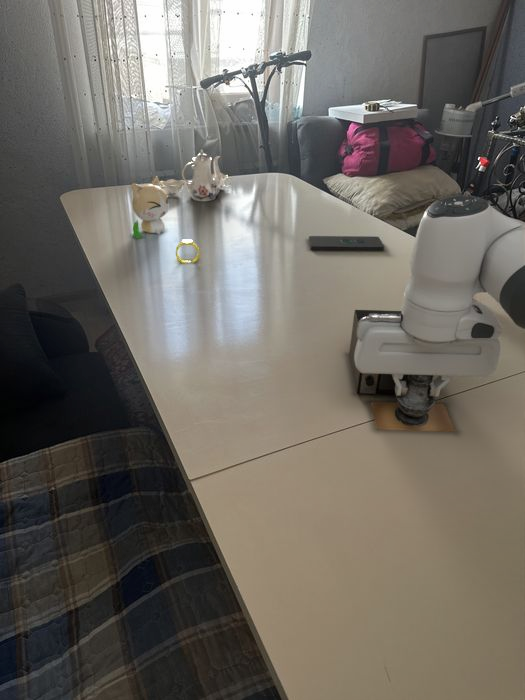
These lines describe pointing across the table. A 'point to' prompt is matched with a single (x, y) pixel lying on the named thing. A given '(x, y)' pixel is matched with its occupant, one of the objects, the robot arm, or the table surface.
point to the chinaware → (198, 180)
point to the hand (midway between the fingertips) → (416, 394)
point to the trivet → (388, 421)
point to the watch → (187, 242)
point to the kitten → (149, 207)
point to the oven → (370, 381)
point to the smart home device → (345, 243)
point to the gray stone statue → (415, 402)
